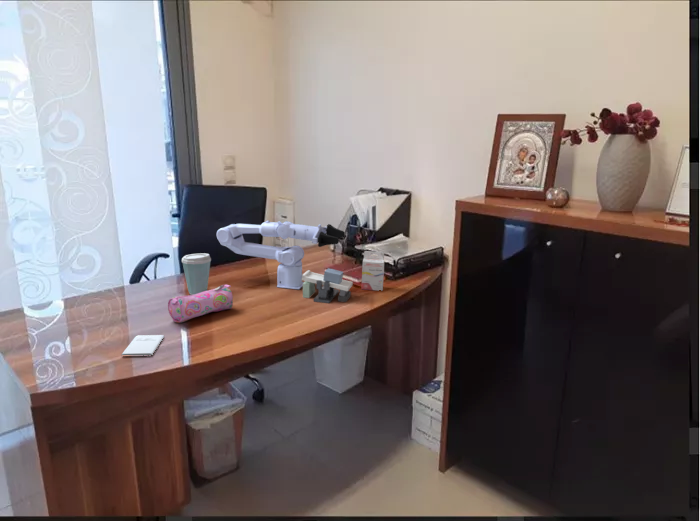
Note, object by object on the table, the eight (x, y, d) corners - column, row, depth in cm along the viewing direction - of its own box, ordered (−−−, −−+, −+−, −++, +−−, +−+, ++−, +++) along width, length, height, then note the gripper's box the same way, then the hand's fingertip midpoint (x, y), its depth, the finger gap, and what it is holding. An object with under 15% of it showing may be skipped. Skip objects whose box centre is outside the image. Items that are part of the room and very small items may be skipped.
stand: (313, 301, 183) (313, 282, 180) (324, 290, 195) (324, 272, 193) (329, 303, 181) (329, 283, 179) (338, 292, 193) (339, 273, 191)
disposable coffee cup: (177, 295, 186) (174, 256, 182) (196, 286, 196) (193, 249, 192) (200, 299, 182) (198, 259, 178) (218, 290, 192) (216, 253, 188)
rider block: (323, 281, 184) (324, 271, 183) (326, 278, 188) (328, 268, 187) (338, 285, 183) (340, 275, 182) (341, 281, 187) (343, 271, 186)
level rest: (302, 297, 187) (302, 283, 185) (308, 291, 193) (308, 278, 192) (309, 298, 186) (309, 284, 184) (315, 292, 192) (315, 278, 191)
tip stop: (338, 301, 183) (338, 296, 183) (343, 295, 190) (343, 290, 189) (345, 302, 183) (345, 297, 182) (350, 296, 189) (350, 291, 189)
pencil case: (222, 304, 179) (221, 280, 176) (237, 310, 173) (236, 286, 170) (166, 320, 163) (164, 294, 161) (180, 327, 157) (178, 301, 155)
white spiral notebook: (121, 359, 137) (136, 339, 149) (152, 358, 138) (164, 339, 150) (121, 353, 137) (135, 334, 149) (152, 353, 138) (164, 334, 150)
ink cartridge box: (361, 289, 196) (362, 253, 192) (362, 285, 201) (363, 250, 197) (382, 291, 196) (384, 254, 192) (383, 287, 200) (384, 251, 196)
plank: (299, 287, 184) (300, 276, 183) (308, 279, 194) (309, 268, 192) (345, 299, 181) (347, 287, 179) (352, 290, 190) (354, 279, 189)
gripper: (300, 228, 184) (335, 233, 180) (314, 217, 197) (347, 222, 193) (300, 246, 186) (335, 251, 183) (314, 234, 199) (346, 239, 196)
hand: (341, 237), depth 188 cm, fingers open, 7 cm apart
